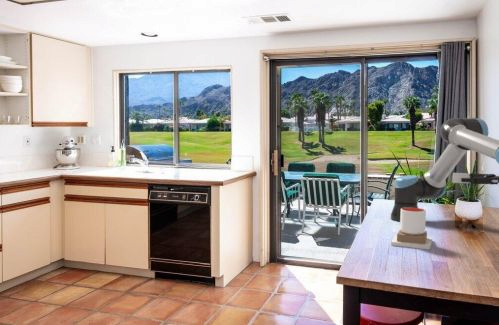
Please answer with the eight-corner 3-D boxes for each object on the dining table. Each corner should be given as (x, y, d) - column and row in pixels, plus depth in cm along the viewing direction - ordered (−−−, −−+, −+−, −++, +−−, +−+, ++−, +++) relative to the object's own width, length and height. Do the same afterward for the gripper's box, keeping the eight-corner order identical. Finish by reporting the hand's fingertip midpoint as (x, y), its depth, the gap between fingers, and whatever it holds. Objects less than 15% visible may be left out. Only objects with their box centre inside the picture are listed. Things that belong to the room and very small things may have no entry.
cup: (428, 232, 188) (429, 209, 187) (419, 236, 181) (420, 212, 180) (406, 229, 195) (406, 206, 194) (396, 232, 188) (396, 209, 187)
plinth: (395, 237, 198) (396, 227, 198) (432, 240, 192) (432, 230, 191) (391, 245, 185) (391, 234, 184) (429, 249, 178) (430, 238, 178)
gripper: (513, 193, 167) (451, 190, 176) (507, 185, 189) (452, 183, 198) (514, 173, 166) (452, 171, 175) (507, 168, 189) (453, 166, 198)
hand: (452, 177), depth 187 cm, fingers open, 13 cm apart
